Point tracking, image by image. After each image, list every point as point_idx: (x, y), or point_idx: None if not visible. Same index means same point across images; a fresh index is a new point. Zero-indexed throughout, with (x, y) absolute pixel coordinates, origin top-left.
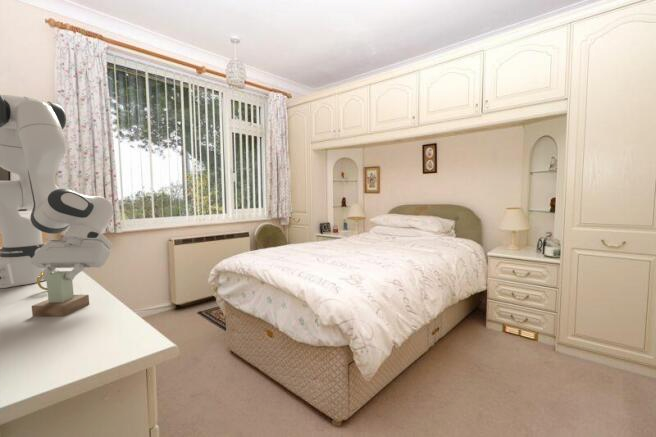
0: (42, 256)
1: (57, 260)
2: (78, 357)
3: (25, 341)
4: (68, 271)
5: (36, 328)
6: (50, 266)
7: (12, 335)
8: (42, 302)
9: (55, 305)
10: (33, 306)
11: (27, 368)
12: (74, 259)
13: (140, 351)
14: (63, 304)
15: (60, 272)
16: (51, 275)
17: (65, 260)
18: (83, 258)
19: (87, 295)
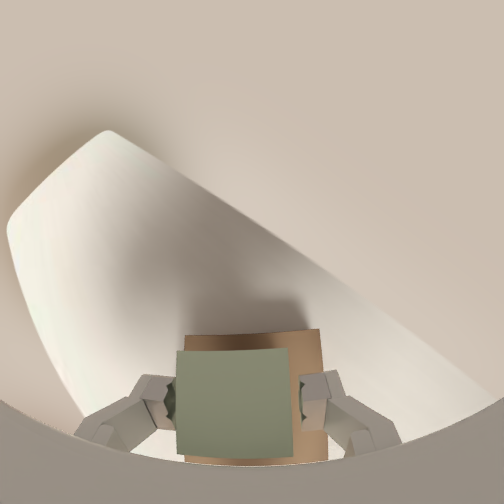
0: (500, 457)
1: (284, 480)
2: (74, 183)
3: (177, 203)
4: (193, 448)
5: (208, 257)
6: (351, 443)
7: (234, 221)
8: (312, 368)
9: (219, 336)
10: (310, 329)
11: (118, 156)
12: (87, 458)
13: (25, 207)
14: (193, 345)
15: (236, 424)
16: (241, 350)
17: (176, 472)
18: (26, 439)
19: (185, 456)
